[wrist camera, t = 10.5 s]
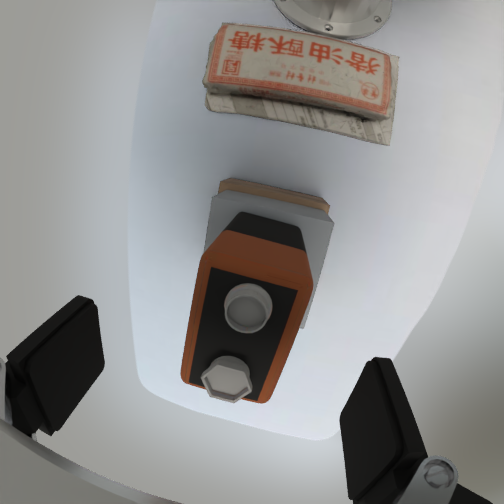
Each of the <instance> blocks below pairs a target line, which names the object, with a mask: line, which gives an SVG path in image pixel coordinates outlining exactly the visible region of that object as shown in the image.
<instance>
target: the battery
mask: <svg viewBox="0 0 504 504" xmlns="http://www.w3.org/2000/svg"><path fill="white" fill-rule="evenodd" d="M313 286H314V284H313V278H312V274H311V269H310V265H309V261H308V256H307V252H306V248H305V244H304V240H303V235H302V232H301V229H300V228H299V227H298V226H295V225H291V224H288V223H284V222H280V221H277V220H273V219H269V218H266V217H262V216H258V215H254V214H251V213H247V212H240V213H238V214H237V215H236V216H235V217H234V218H233V220H232V221H231V222H230V223H229V224H228V225H227V226H226V228H225V229H224V230H223V231H222V232H221V233H220V235H219V236H218V237H217V238H216V239H215V240H214V242H213V243H212V244H211V245H210V246H209V247H208V249H207V250H206V251H205V252H204V253H203V255H202V257H201V260H200V264H199V268H198V273H197V278H196V284H195V289H194V294H193V300H192V305H191V311H190V317H189V322H188V328H187V334H186V340H185V346H184V353H183V359H182V365H181V378H182V380H183V382H185V383H187V384H190V385H193V386H196V387H199V388H203V389H206V390H207V392H208V394H209V396H210V397H213V398H216V399H220V400H224V401H228V402H231V403H235V402H237V401H238V400H240V399H243V400H247V401H251V402H256V403H266V402H267V401H268V400H269V399H270V398H271V396H272V394H273V391H274V389H275V387H276V384H277V382H278V380H279V377H280V375H281V372H282V370H283V368H284V365H285V363H286V360H287V358H288V355H289V353H290V350H291V348H292V345H293V343H294V340H295V338H296V335H297V333H298V330H299V327H300V325H301V322H302V319H303V317H304V314H305V311H306V309H307V306H308V303H309V300H310V297H311V295H312V291H313Z"/></svg>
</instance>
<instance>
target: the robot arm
mask: <svg viewBox="0 0 504 504" xmlns="http://www.w3.org/2000/svg"><path fill="white" fill-rule="evenodd" d="M282 1H285V2H282ZM274 2H275V4H276V5H277V7H278V8H279V10H280V11H281V12H282V13H283V14H284V15H285V16H286V17H287V18H288V19H289V20H290V21H292V22H293V23H294V24H296V25H297V26H299V27H301V28H303V29H305V30H306V31H309V32H312V33H315V34H319V35H324V36H329V37H333V38H337V39H356V38H362V37H365V36H368V35H370V34H373V33H374V32H376V31H377V30H379V29H380V28H381V27H382V26H383V25H384V24H385V22H386V21H387V19H388V18H389V16H390V13H391V10H392V0H274ZM375 21H376V22H375ZM326 29H328V30H330V31H327V30H326ZM6 357H7V359H8V361H7V362H6V363H4V361H3V360H2V359H1V358H0V504H181V503H178V502H174V501H171V500H167V499H164V498H161V497H158V496H154V495H151V494H148V493H145V492H142V491H139V490H137V489H134V488H131V487H128V486H126V485H123V484H121V483H118V482H116V481H113V480H111V479H108V478H106V477H104V476H102V475H99V474H97V473H95V472H93V471H90V470H88V469H86V468H84V467H82V466H80V465H78V464H76V463H74V462H72V461H70V460H68V459H66V458H64V457H62V456H61V455H59V454H57V453H55V452H53V451H52V450H50V449H48V448H47V447H45V446H43V445H41V444H39V443H38V442H37V438H36V431H37V430H38V429H40V430H41V431H43V432H44V433H46V434H48V435H50V436H52V434H53V433H54V432H55V431H58V430H60V428H61V427H62V426H63V425H64V423H65V422H66V420H67V419H68V417H69V416H70V414H71V413H72V412H73V410H74V409H75V408H76V406H77V405H78V403H79V402H80V401H81V399H82V398H83V397H84V395H85V394H86V392H87V391H88V390H89V388H90V387H91V385H92V384H93V383H94V382H95V380H96V379H97V377H98V376H99V375H100V374H101V372H102V371H103V369H104V364H105V361H104V355H103V348H102V341H101V334H100V327H99V317H98V309H97V306H96V305H95V304H94V301H93V300H92V299H89V298H86V297H83V296H79V295H78V296H76V297H75V298H73V299H72V300H71V301H70V302H69V303H67V304H66V305H65V306H64V307H62V308H61V309H60V310H59V311H58V312H56V313H55V314H54V315H53V316H52V317H51V318H49V319H48V320H47V321H46V322H44V323H43V324H42V325H41V326H40V327H39V328H37V329H36V330H35V331H34V332H33V333H32V334H30V335H29V336H28V337H27V338H26V339H25V340H24V341H22V342H21V343H20V344H19V345H18V346H17V347H16V348H15V349H13V350H12V351H11V352H10V353H9V354H8V355H7V356H6ZM340 428H341V436H342V442H343V451H344V460H345V469H346V478H347V489H348V497H349V499H350V500H353V504H493V503H491V502H490V501H488V500H487V499H484V498H483V497H481V496H479V495H477V494H475V493H474V492H472V491H470V490H468V489H467V488H465V487H463V486H461V485H460V484H458V483H457V482H458V471H457V468H456V466H455V465H454V464H453V463H452V462H451V461H450V460H449V459H447V458H445V457H442V456H436V455H435V456H430V457H428V455H427V452H426V449H425V446H424V443H423V441H422V437H421V435H420V432H419V429H418V426H417V423H416V421H415V418H414V415H413V413H412V410H411V407H410V405H409V402H408V400H407V397H406V395H405V392H404V389H403V387H402V385H401V382H400V379H399V377H398V375H397V372H396V370H395V367H394V365H393V363H392V360H391V359H389V358H380V357H374V358H373V359H372V360H371V361H368V362H367V363H366V364H365V367H364V369H363V371H362V373H361V375H360V377H359V379H358V381H357V383H356V385H355V387H354V389H353V391H352V393H351V395H350V397H349V399H348V401H347V403H346V405H345V407H344V408H343V410H342V412H341V415H340Z"/></svg>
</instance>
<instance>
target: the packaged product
mask: <svg viewBox="0 0 504 504" xmlns="http://www.w3.org/2000/svg"><path fill="white" fill-rule="evenodd" d="M398 62H399V57H398V56H394V55H391V54H388V53H385V52H383V51H381V50H378V49H374V48H371V47H366V46H363V45H359V44H356V43H352V42H349V41H345V40H341V39H337V38H333V37H329V36H324V35H319V34H315V33H310V32H305V31H293V30H291V29H285V28H277V27H270V26H260V25H251V24H238V23H222V26H221V28H220V29H219V30H218V33H217V34H216V35H215V36H214V39H213V41H212V42H211V43H210V47H209V55H208V63H207V65H206V73H205V76H204V78H203V81H202V82H203V85H204V88H207V93H206V100H205V106H206V107H207V109H208V110H210V111H215V112H223V113H238V114H244V115H250V116H255V117H260V118H265V119H270V120H277V121H282V122H287V123H292V124H296V125H301V126H305V127H310V128H314V129H319V130H323V131H328V132H332V133H336V134H340V135H344V136H348V137H352V138H356V139H360V140H364V141H367V142H372V143H377V144H383V145H388V146H390V139H391V133H392V124H393V119H394V109H395V98H396V89H397V80H398V68H399V66H398Z"/></svg>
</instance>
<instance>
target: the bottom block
mask: <svg viewBox="0 0 504 504" xmlns="http://www.w3.org/2000/svg"><path fill="white" fill-rule="evenodd" d="M225 190H231V191H237V192H242V193H247V194H252V195H257V196H262V197H266V198H271V199H276V200H280V201H285V202H290V203H294V204H299V205H303V206H307V207H312V208H316V209H320V210H324V211H325V212H326V213H327V215H328V212H329V208H330V205H329V204H328V203H327V202H326V201H325V200H324V199H323V198H320V197H316V196H312V195H308V194H303V193H299V192H295V191H290V190H286V189H281V188H277V187H272V186H268V185H263V184H258V183H253V182H248V181H243V180H238V179H233V178H229V179H226V180H223V181H220V186H219V191H218V194H219V193H221V192H223V191H225Z"/></svg>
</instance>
